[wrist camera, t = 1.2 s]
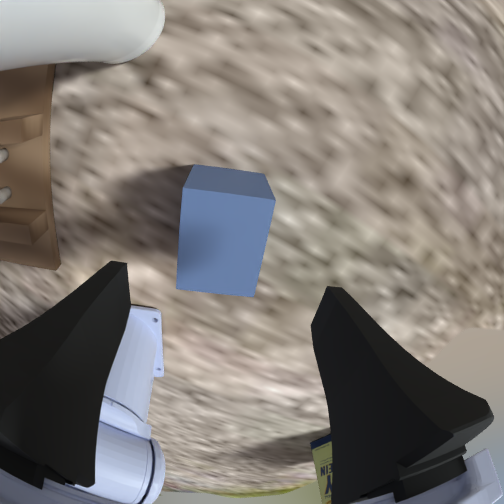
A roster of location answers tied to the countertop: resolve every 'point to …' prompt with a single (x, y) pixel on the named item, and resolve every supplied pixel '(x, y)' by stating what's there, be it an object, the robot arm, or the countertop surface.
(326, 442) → the protein box
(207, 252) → the shelf block
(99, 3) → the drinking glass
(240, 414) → the countertop surface
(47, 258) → the shelf frame
